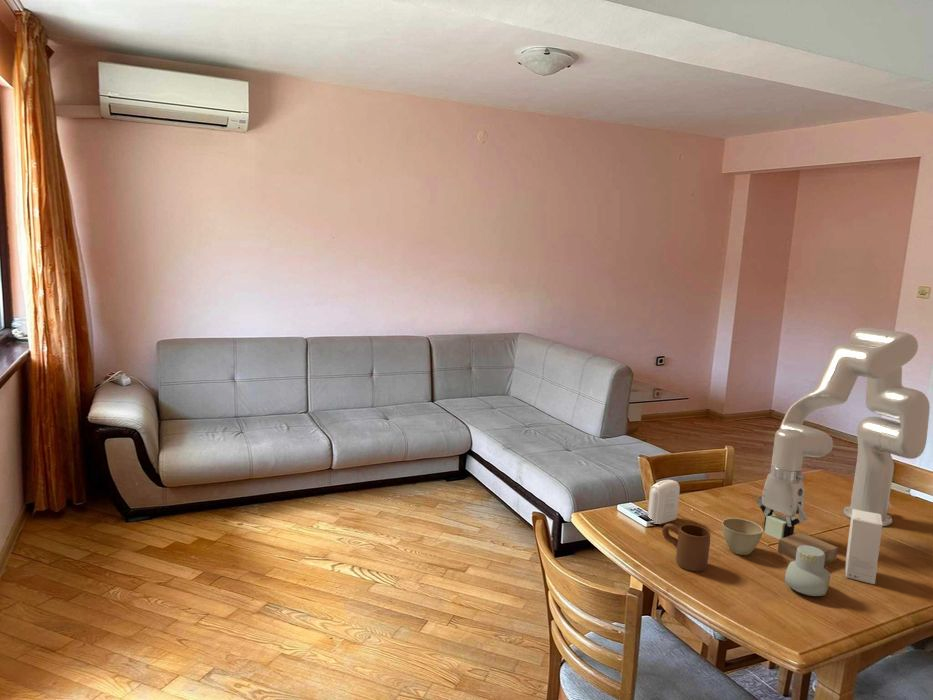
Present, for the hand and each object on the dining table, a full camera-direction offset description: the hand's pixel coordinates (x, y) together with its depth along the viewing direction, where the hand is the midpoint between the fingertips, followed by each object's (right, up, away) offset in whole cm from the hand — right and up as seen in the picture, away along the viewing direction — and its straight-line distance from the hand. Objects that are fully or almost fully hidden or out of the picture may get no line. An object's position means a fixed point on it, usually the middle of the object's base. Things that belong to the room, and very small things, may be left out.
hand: (777, 533), depth 177 cm
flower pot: (-16, -2, -11) cm, 19 cm away
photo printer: (-31, +2, +7) cm, 32 cm away
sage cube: (0, -1, 0) cm, 1 cm away
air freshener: (-8, -5, -29) cm, 30 cm away
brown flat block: (+1, -3, -12) cm, 13 cm away
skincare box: (+10, -4, -21) cm, 23 cm away
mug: (-34, -2, -18) cm, 38 cm away
